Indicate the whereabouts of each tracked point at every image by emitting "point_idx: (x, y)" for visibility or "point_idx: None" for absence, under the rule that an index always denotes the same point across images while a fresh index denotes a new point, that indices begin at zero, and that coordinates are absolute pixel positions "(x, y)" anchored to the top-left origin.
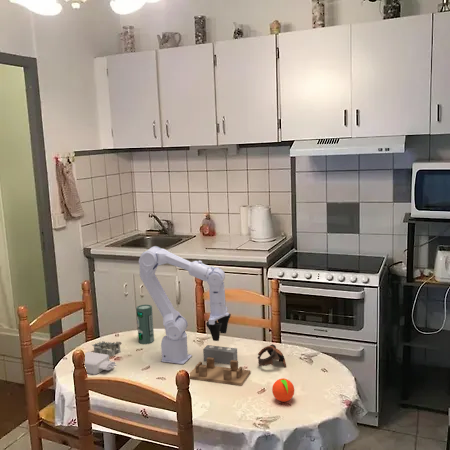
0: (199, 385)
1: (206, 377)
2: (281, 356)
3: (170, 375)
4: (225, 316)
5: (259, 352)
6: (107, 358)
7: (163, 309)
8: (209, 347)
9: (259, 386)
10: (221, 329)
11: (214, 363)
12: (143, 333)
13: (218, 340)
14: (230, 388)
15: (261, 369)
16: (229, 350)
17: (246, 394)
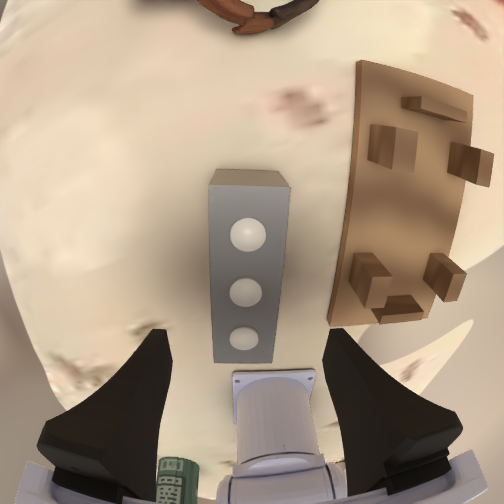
0: (467, 253)
1: (444, 249)
2: None
3: (396, 362)
4: (121, 469)
5: (241, 8)
6: (345, 477)
7: None
8: (253, 346)
9: (451, 27)
10: (165, 378)
11: (361, 261)
12: (195, 488)
13: (342, 329)
14: (483, 137)
15: (296, 16)
16: (263, 224)
17: (501, 77)
